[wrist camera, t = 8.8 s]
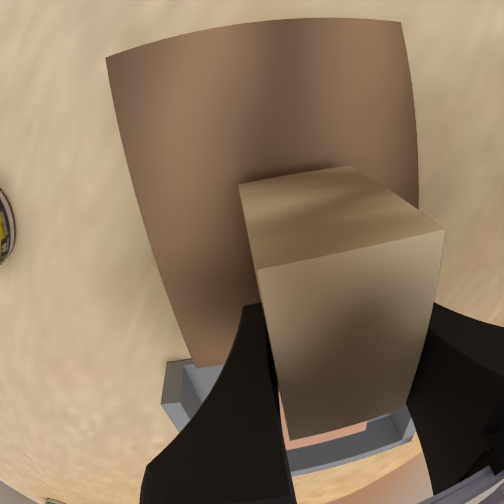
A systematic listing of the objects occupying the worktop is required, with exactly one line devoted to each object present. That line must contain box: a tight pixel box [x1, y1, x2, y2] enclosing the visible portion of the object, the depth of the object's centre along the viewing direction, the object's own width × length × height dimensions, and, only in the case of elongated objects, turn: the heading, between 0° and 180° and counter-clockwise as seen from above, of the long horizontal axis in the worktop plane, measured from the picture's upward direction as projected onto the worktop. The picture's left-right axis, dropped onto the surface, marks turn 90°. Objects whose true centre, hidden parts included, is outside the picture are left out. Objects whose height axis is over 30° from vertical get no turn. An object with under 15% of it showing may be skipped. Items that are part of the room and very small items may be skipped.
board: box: [106, 18, 419, 369], centre depth 12 cm, size 11×14×2 cm
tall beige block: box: [238, 165, 445, 441], centre depth 9 cm, size 4×6×5 cm, turn 10°
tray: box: [161, 359, 416, 477], centre depth 17 cm, size 15×11×3 cm
